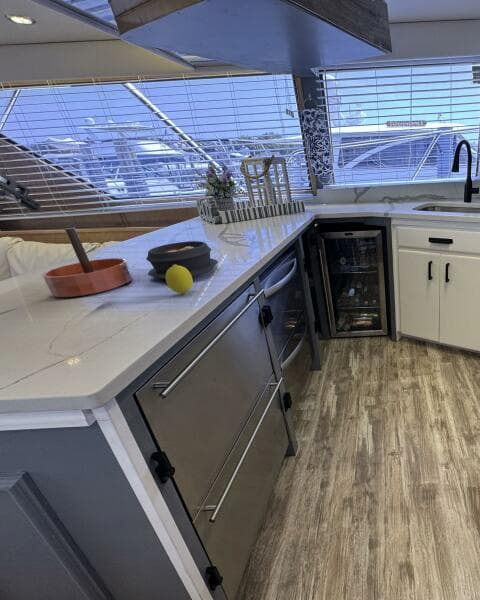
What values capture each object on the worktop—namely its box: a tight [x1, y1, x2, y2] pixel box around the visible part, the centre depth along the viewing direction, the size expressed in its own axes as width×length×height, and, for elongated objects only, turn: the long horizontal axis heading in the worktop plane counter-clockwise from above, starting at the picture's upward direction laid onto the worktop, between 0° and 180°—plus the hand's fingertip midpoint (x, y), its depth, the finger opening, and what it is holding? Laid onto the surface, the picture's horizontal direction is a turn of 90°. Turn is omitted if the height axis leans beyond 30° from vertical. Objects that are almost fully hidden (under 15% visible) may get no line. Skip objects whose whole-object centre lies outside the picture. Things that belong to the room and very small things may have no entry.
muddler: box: [64, 227, 94, 273], centre depth 88 cm, size 5×5×16 cm
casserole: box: [145, 240, 219, 280], centre depth 99 cm, size 25×19×8 cm
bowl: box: [41, 257, 133, 298], centre depth 90 cm, size 17×17×6 cm
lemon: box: [165, 265, 194, 295], centre depth 81 cm, size 6×6×8 cm
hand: (19, 209), depth 74 cm, fingers open, 8 cm apart
